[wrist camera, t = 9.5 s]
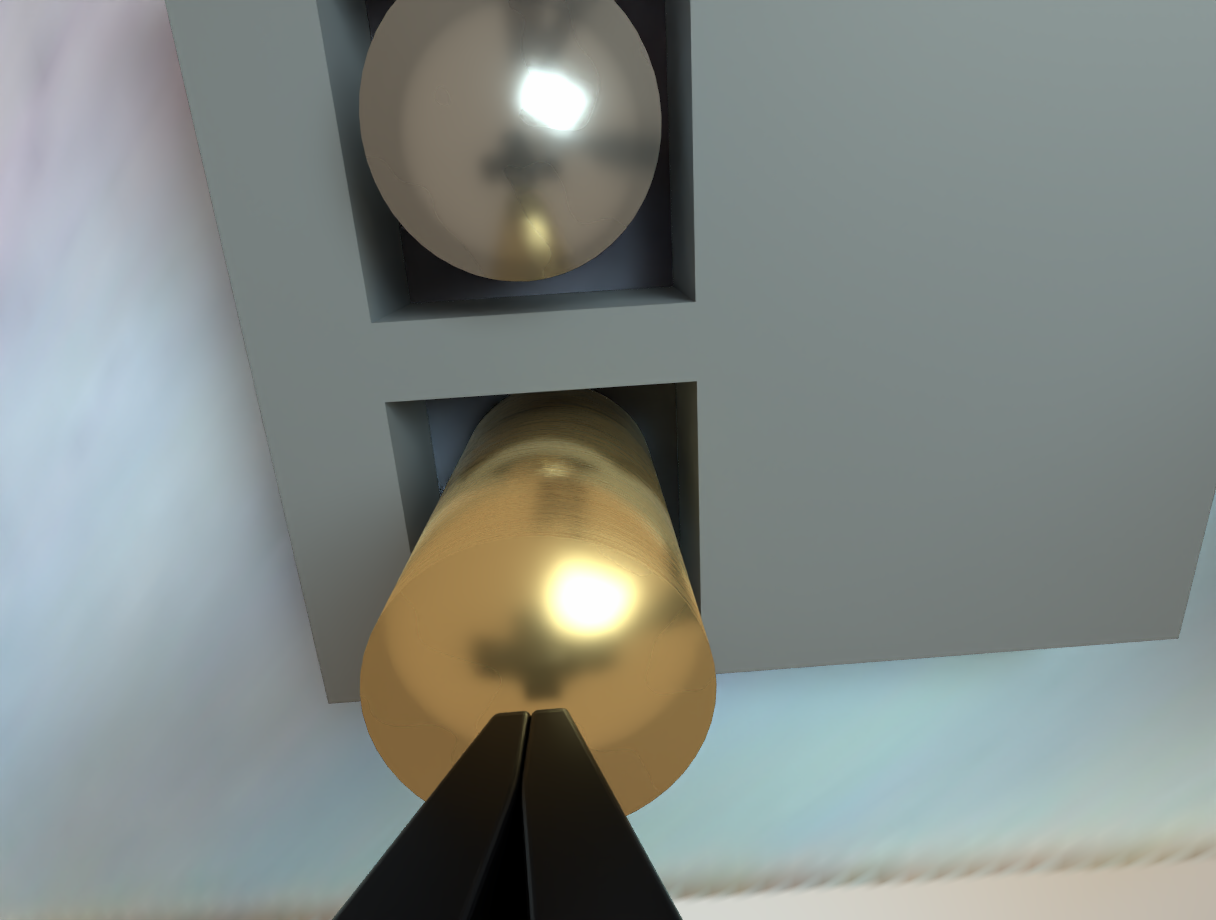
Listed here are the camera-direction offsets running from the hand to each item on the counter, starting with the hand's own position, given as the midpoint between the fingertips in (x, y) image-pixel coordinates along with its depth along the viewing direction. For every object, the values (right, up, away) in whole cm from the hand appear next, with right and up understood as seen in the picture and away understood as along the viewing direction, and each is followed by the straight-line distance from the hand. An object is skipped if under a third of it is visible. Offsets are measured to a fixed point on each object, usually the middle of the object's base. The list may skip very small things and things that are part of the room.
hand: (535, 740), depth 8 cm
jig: (+3, +6, +7) cm, 10 cm away
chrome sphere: (-1, +9, +6) cm, 11 cm away
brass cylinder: (0, +3, +8) cm, 9 cm away
